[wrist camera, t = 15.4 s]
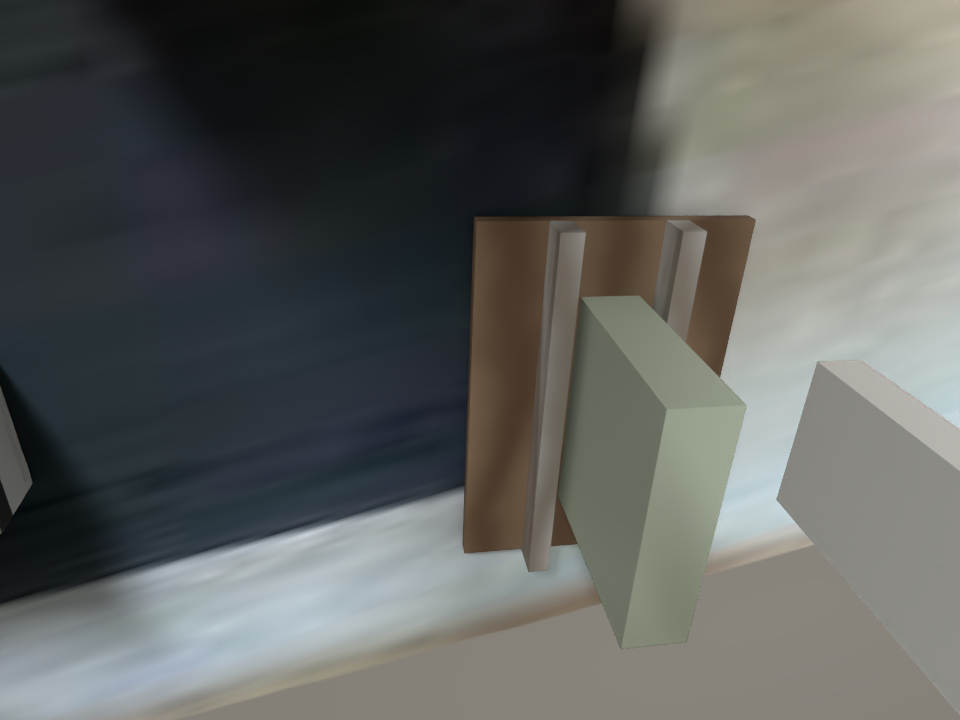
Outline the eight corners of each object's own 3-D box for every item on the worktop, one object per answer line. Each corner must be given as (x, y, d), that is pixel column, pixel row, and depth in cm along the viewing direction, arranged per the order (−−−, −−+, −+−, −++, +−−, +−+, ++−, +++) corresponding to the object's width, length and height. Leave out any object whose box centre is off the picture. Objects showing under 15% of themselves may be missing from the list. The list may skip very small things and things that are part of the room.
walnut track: (462, 544, 53) (469, 577, 50) (474, 216, 41) (483, 233, 38) (679, 526, 56) (697, 557, 53) (747, 215, 44) (776, 231, 41)
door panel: (558, 495, 51) (621, 649, 39) (580, 296, 44) (666, 409, 31) (608, 491, 52) (686, 642, 39) (639, 295, 44) (746, 405, 32)
